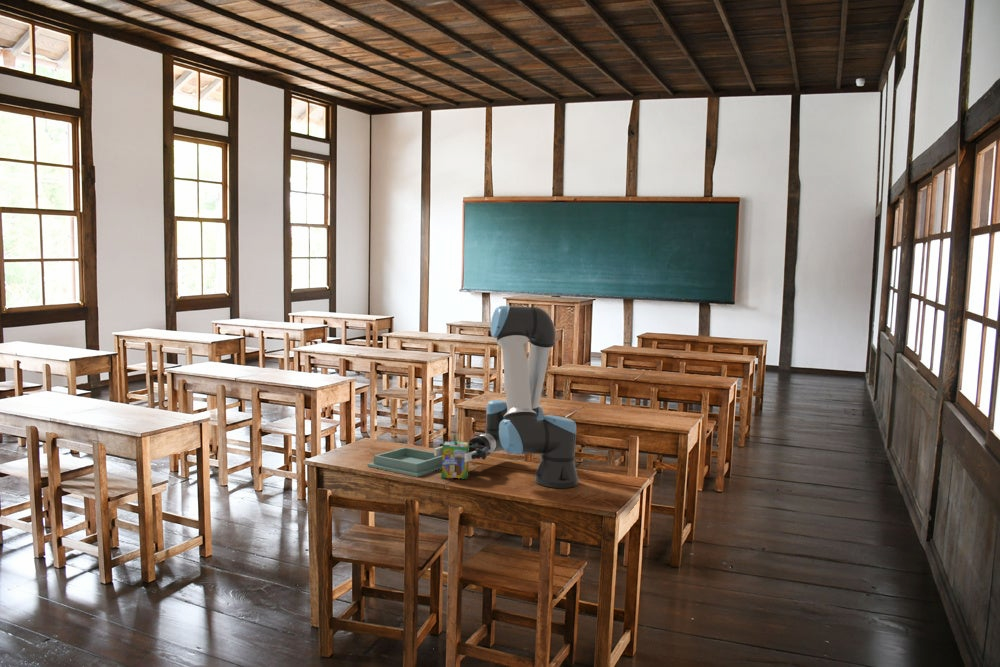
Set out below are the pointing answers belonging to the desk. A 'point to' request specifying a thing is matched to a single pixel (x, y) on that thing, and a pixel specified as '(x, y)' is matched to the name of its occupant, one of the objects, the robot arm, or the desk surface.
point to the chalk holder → (408, 461)
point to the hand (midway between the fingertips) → (450, 455)
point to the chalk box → (454, 459)
